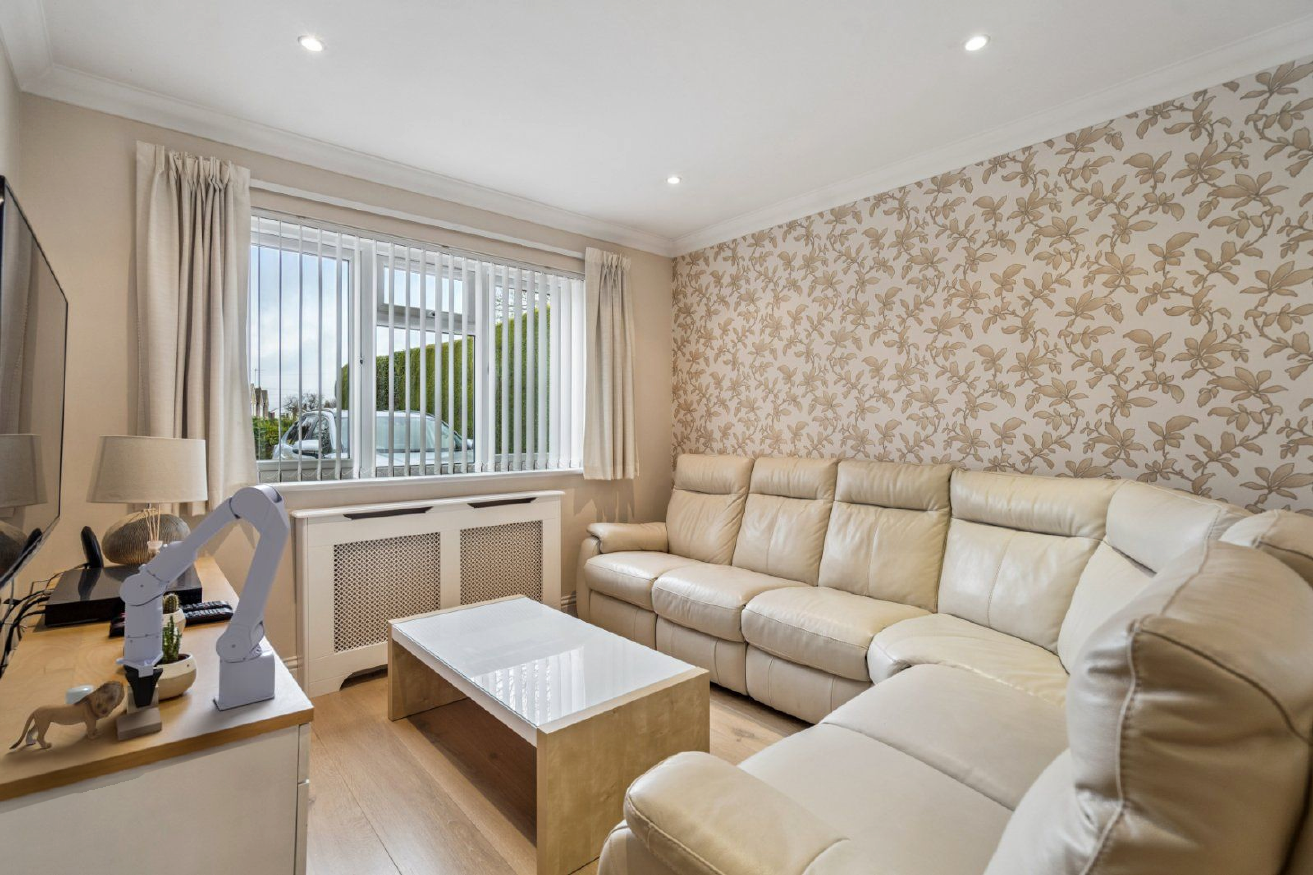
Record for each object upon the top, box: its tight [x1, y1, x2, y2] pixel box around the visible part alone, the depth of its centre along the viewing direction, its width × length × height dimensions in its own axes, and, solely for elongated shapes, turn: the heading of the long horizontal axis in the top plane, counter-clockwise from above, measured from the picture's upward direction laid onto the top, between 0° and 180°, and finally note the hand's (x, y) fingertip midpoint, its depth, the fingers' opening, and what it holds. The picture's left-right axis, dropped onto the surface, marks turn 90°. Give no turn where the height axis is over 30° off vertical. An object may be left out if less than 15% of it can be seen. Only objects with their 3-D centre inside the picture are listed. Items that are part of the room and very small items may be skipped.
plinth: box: [115, 706, 163, 741], centre depth 112 cm, size 6×8×2 cm
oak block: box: [126, 684, 160, 714], centre depth 120 cm, size 4×4×4 cm
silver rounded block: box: [65, 684, 94, 704], centre depth 121 cm, size 4×4×3 cm
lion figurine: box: [9, 679, 126, 750], centre depth 108 cm, size 15×5×9 cm, turn 130°
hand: (142, 702), depth 120 cm, fingers closed on oak block, 4 cm apart
